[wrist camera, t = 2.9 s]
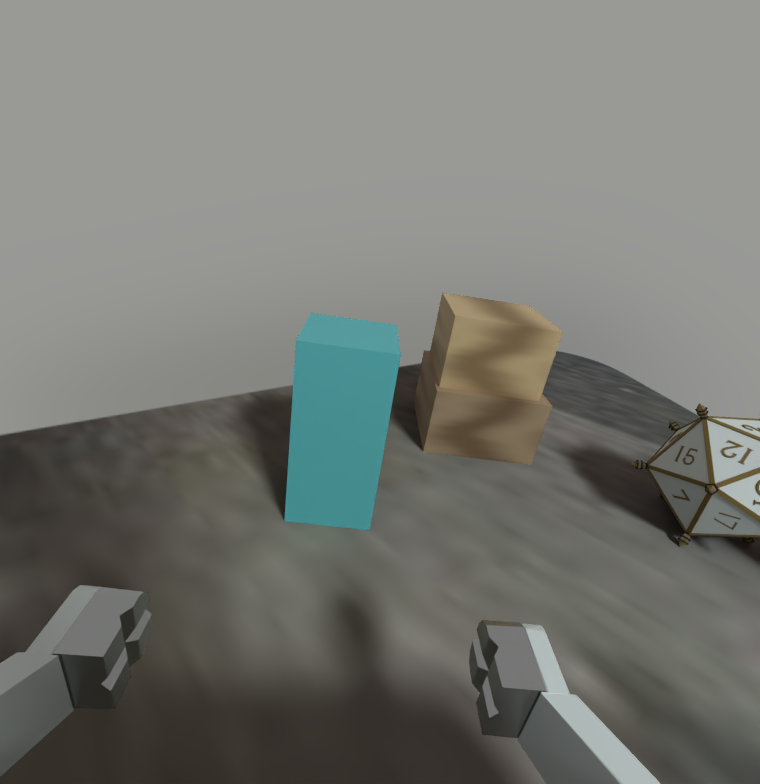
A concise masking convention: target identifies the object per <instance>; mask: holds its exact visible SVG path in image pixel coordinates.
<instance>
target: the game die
mask: <svg viewBox="0 0 760 784" xmlns="http://www.w3.org/2000/svg"><path fill="white" fill-rule="evenodd" d="M695 410H696V411H697V414H698V415H699V416H700V418H699V419H697V420H695V421H693V422H691V423H689V424H687V425H685V426H683V427H681V428H680V427H679V425H678V424H677V423H676V422H670V421H669V428H671V430H674V431H675V432H674V434H673V435H672V436H671V437H670V438H669V439H668V440H667V441H666V442H665V444H664V445H663V446H662V447H661V448H660V449H659V450H658V451H657V452H656V453H655V455H654V456H653V457H652V458H651V459H650V460H649V461H648V462H647V463H644V462H642V461H638V460H637V461H635V462H633V463H630V464H631V465H632V466H634V467H635V468H636V469H638V468H640V469H643V468H646V469H647V471H648V472H649V474H650V476H651V477H652V479H653V481H654V482H655V484H656V486H657V487H658V489H659V491H660V495H659V496H660V497H663V498H664V499H665V500H666V502H667V504H668V505H669V507H670V509H671V510H672V512H673V514H674V515H675V517H676V519H677V520H678V522H679V524H680V525H681V527H682V529H683V530H684V534H682V535H680V537H679V538H677V539H678V541H679V547H680V546H683V545H686V544H687V545H688V542H689V541H690V536H715V537H741V538H743V540H742V541H743V542H746V543H747V544H749V545H751V544H752V543H753V542H755V541H754V540H753V538H760V419H749V418H748V419H746V418H730V417H713V416H707V413H708V411H707V407H704V406H702V405H701V404H699V405H698V407H697V409H695Z"/></svg>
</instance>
